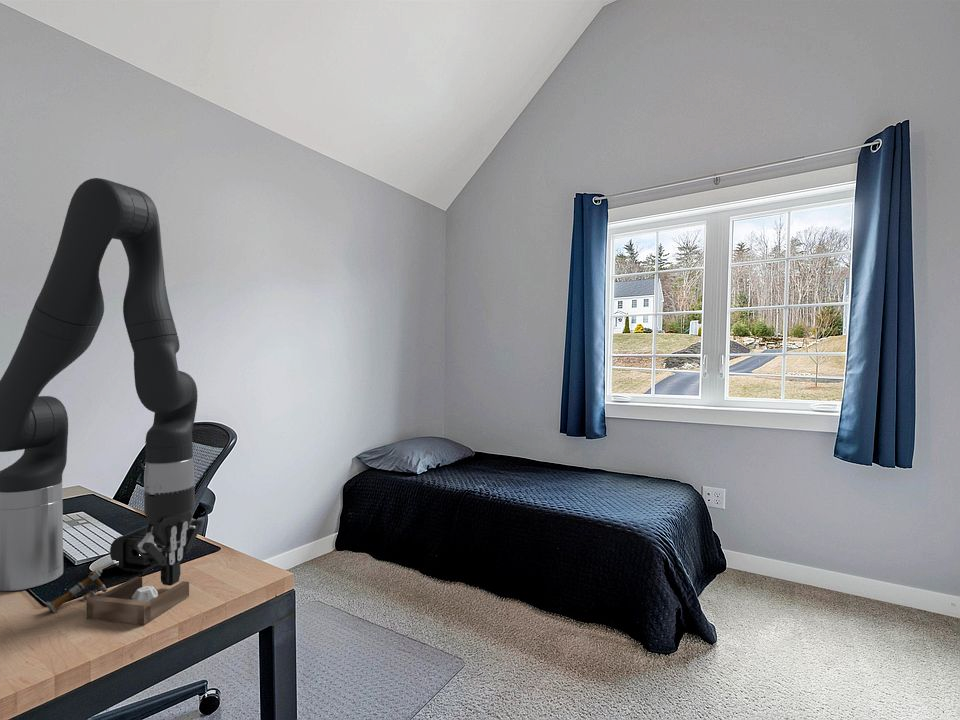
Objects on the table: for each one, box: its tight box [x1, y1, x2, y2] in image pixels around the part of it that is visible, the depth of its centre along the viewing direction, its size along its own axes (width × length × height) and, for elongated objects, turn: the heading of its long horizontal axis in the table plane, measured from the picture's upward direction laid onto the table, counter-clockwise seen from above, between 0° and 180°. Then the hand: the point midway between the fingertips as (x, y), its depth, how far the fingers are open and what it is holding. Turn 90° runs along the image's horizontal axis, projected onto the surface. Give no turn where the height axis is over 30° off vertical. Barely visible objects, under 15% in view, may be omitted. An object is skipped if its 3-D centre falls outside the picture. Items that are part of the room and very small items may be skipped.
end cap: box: [109, 525, 166, 573], centre depth 100 cm, size 10×7×7 cm
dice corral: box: [85, 576, 190, 626], centre depth 83 cm, size 10×9×3 cm
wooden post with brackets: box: [44, 569, 108, 614], centre depth 84 cm, size 2×8×4 cm, turn 150°
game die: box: [131, 585, 159, 602], centre depth 83 cm, size 4×4×3 cm
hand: (170, 583), depth 89 cm, fingers closed
